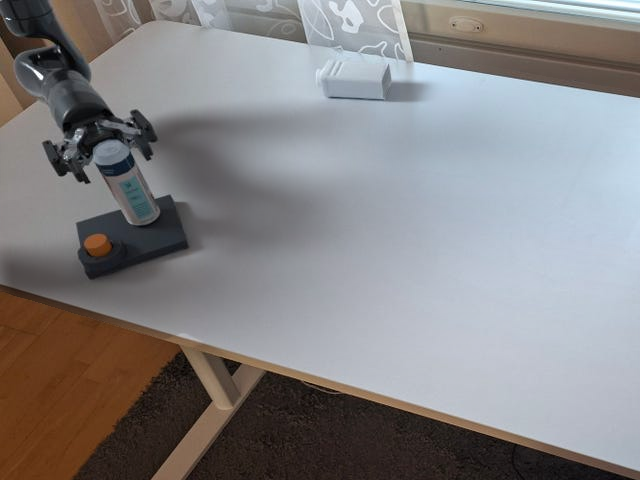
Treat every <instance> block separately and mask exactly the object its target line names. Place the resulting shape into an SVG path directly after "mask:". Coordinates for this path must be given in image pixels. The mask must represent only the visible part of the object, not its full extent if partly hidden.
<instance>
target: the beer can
mask: <svg viewBox="0 0 640 480" xmlns="http://www.w3.org/2000/svg"><path fill="white" fill-rule="evenodd" d="M92 161H93V163H94V164H95V166H96V168H97V170H98V171H99V173H100V175H101V177H102V178H103V180H104V182H105V184H106V186H107V187H108V189H109V191H110V192H111V194H112V196H113V198H114V200H115V201H116V203H117V205H118V207H119V210H120V209H121V210H122V212H123V214H124V216H125V217H126V219H127V221H128V222H129V223H130V224H132V225H147V224H149V223H151V222H153V221H154V220H155V219H157V218H158V216H159V214H160V209H159V207H158V205H157V203H156V201H155V199H156V198H155V197H154V195H153V193H152V191H151V189H150V187H149V185H148V183H147V182H146V179H145V177H144V175H143V173H142V171H141V169H140V168H139V165H138V163H137V162H136V159H135V158H134V156H133V154H132V152H131V149H130V150H129V148H128V147H127V146H126V145H124V144H123V143H122V142H120V141H118V140H107V141H104V142H102V143H99V144H98V145H97V146H96V147H95V148H94V150H93V159H92Z"/></svg>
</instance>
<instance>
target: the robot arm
mask: <svg viewBox="0 0 640 480" xmlns="http://www.w3.org/2000/svg"><path fill="white" fill-rule="evenodd" d="M0 16H1V17H2V19H3V21H4V24H5V26H6V27H7V29H8V30H9V31H10V33H11V34H13V35H14V36H16V37H18V38H23V39H43V40H47V41H49V42H52V43H53V45H49V46H43V47H39V48H35V49H30V50H25V51H22V52H20V53H19V54H17V56H16V57H15V59H14V61H13V72H14V74H15V77H16V79H17V81H18V83H19V84H20V85H21V86H22V88H23V89H24V90H25V92H27V93H28V95H30V96H31V97H33V98H34V99H36V100H37V101H39V102H40V103H42V104H44V105H46V106H48V108H49V111H50V114H51V117H52V118H53V120H54V122H55V124H56V126H57V127H58V129H59V130H60V131H61V133H62V135H63V140H62V141H58V142H54V143H53V142H52V140H50V139H47V140H44V141H43V142H42V143H41V145H42V147H43V150H44V152H45V155H46V157H47V160H48V161H49V164H50V165H51V166H52V168H53V170H54V172H55V173H56V175H57V177H60V178H61V177H65V176H67V174H68V173H72V175H73V176H74V178H75V180H76V181H77V183H80V184H81V183H83V182H84V184H85V185H89V184H91V180H90V178H89V177H88V176H87V175H88V174H86V172H85V170H84V167H85V166H90V164H91V162H92V161H93V150H94V148H95V147H96V146H97V145H98V144H99V143H102V142H104V141H107V140H118V141H120V142H122V143H123V144H124V145H126V146H127V147H128V148H129V150H130V151H131V150H132V149H133V148H134V149H138V151H139V153H140V154H141V155H142V157H143V158H144V160H145V161H146V162H149V161H152V159H153V158H152V156H154V151H153V149H152V147H151V145H150V143H156V142H158V141H159V137H158V135H157V134H156V132H155V130H154V128H153V125H152V123H151V122H150V121H149V120H148V119H147V118H146V117H145V115H143V113H141V112H140V111H139V109H132V110H130V111H129V113H130V116H129V117H127V118H126V117H125V118H124V119H122V118H120V117H117V116H115V114H114V112H113V111H112V110H111V108H110V107H109V106H108V104H107V103H106V101H105V100H104V99H103V97H102V96H101V95H100V94H99V92H97V90H95V89H94V87H93V86H92V85H91V82H92V76H93V75H92V70H91V67H90V64H89V63H88V61H87V59H86V58H85V56H84V55H83V54H82V52H81V51H80V50H79V48H78V47H77V46H76V44H75V43H74V42H73V40H72V39H71V38H70V36H69V35H68V34H67V32H66V31H65V29H64V27H63V25H62V24H61V22H60V21H59V18H58V16H57V14H56V12H55V10H54V8H53V6H52V3H51V1H50V0H0Z"/></svg>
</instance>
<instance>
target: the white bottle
mask: <svg viewBox="0 0 640 480" xmlns="http://www.w3.org/2000/svg"><path fill="white" fill-rule="evenodd" d="M315 82H316V85H317V86H318V87H320V88H321V90H322V94H323V96H324V97H328V98H332V97H335V98H351V99H352V98H353V99H369V100H384V101H385V100H386V98H387V94H388V91H389V89H390V88H391V84H392V74H391V66H390V63H383V62H381V63H380V62H369V61H368V62H364V61H351V60H350V61H349V60H336V59H328V60H327V62H326V64H325V65H324V67H323V68H318V69H317V70H316V71H315Z"/></svg>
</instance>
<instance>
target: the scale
mask: <svg viewBox="0 0 640 480" xmlns="http://www.w3.org/2000/svg"><path fill="white" fill-rule="evenodd" d="M154 199H155V201H156V203H157V205H158V207H159V209H160V214H159V216H158V218H157V219H155V220H154V221H153V222H151V223H149V224H147V225H132V224H130V223H129V222H128V221H127V219H126V217H125V216H124V214H123V212H122V210H121V209H120V208H119V209H115V210H112V211H110V212H107V213H103V214H100V215H96V216H93V217H90V218H85V219H83V220H80V221H76V222H75V225H76V232H77V237H78V242H79V249H78V250H77V257H78V260H79V261H80V263H81V265H82V266H83V269H84V274H85V275H86V276H87V278H88V279H89V280H93V279H97V278H99V277H102V276H105V275H107V274H110V273H114V272H118V271H121V270H124V269H126V268H129V267H133V266H135V265H138V264H141V263H144V262H148V261H151V260H154V259H157V258H161V257H164V256H167V255H170V254H173V253H177V252H180V251H182V250H184V249H188V248H190V245H189V242H188V238H187V237H186V233H185V230H184V227H183V224H182V221H181V217H180V216H179V213H178V209H177V206H176V204H175V200H174V198H173V197H172V194H166V195H163V196H159V197H157V198H154ZM95 234H103V235H105V236H106V237H107V239H108V241H109V242H110V244H111V245H112V250H111V251H110V252H109V253H107V254H106V255H104V256H100V257H93V256H91V255H90V253H89V252H88V250H87V249H86V247H85V246H84V242H85V240H86V239H87V238H88V237H90V236H92V235H95Z"/></svg>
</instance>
